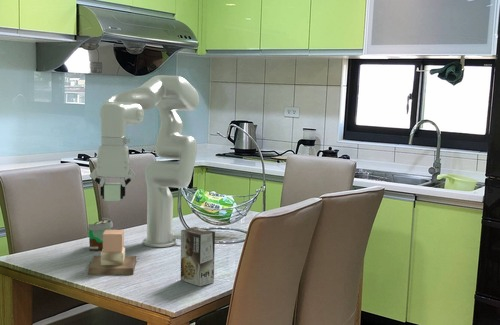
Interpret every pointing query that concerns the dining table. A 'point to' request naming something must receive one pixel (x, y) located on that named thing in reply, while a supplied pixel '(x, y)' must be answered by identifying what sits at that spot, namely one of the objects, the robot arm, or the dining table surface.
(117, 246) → the terracotta cube
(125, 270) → the tower board
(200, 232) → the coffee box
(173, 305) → the dining table surface
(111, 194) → the sage cube
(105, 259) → the beech block
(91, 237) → the food container
